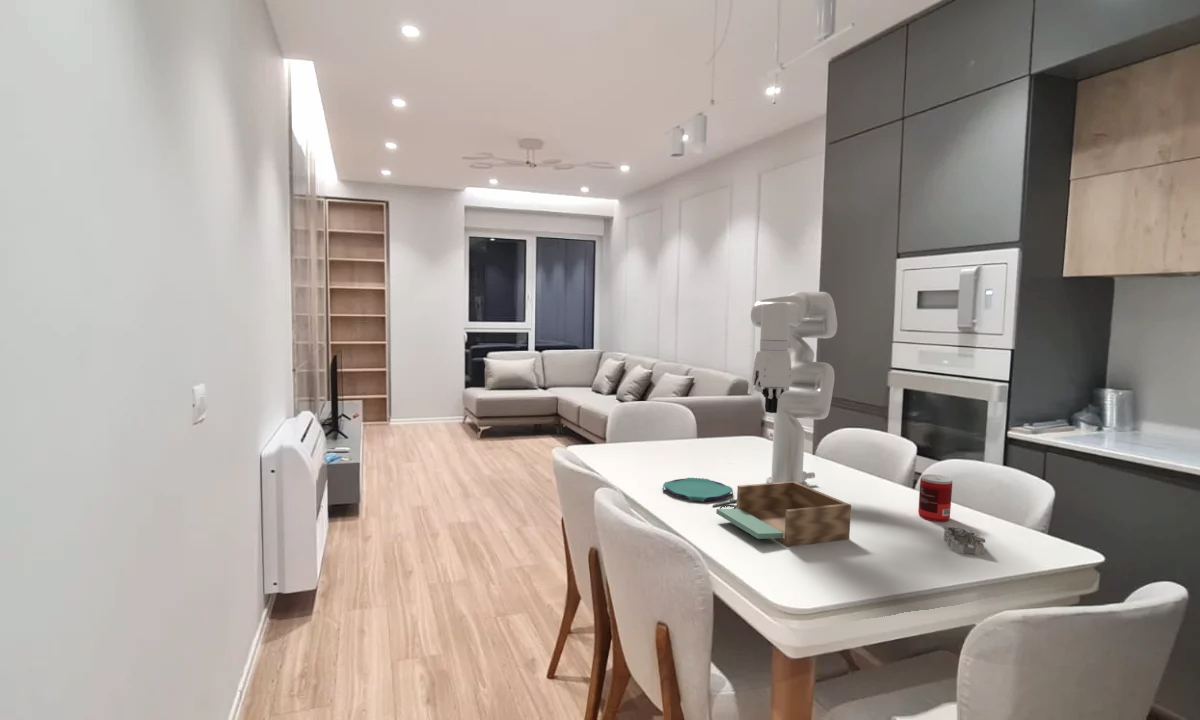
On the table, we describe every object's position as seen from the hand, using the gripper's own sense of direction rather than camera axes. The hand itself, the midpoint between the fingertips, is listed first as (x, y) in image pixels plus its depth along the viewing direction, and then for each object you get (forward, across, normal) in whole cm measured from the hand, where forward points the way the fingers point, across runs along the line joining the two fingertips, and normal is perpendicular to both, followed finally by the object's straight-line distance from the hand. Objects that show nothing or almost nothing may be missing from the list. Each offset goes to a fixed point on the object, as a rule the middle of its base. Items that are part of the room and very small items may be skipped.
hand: (770, 412), depth 172 cm
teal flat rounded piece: (+28, +11, -13) cm, 33 cm away
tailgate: (+26, +13, +16) cm, 33 cm away
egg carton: (+28, -28, +39) cm, 55 cm away
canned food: (+27, -40, +20) cm, 52 cm away
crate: (+27, +4, +16) cm, 32 cm away
